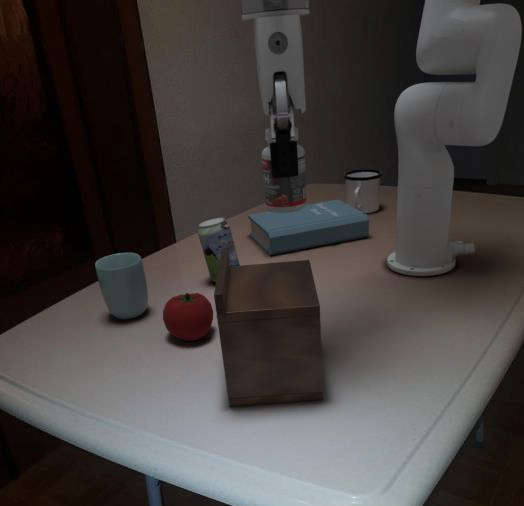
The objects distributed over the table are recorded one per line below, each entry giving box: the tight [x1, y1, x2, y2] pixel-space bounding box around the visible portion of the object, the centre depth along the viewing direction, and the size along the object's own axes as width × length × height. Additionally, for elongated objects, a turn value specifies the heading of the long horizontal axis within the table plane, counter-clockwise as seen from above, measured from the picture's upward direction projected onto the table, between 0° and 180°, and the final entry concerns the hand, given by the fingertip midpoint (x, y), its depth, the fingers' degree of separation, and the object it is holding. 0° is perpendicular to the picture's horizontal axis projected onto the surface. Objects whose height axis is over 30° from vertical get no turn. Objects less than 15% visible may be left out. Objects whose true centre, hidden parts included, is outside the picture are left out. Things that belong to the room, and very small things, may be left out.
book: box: [247, 199, 370, 256], centre depth 125 cm, size 23×16×5 cm
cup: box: [94, 252, 149, 320], centre depth 96 cm, size 8×8×10 cm
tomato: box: [162, 292, 214, 341], centre depth 87 cm, size 8×8×7 cm
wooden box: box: [213, 250, 324, 407], centre depth 73 cm, size 12×15×16 cm
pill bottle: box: [261, 125, 307, 213], centre depth 70 cm, size 5×5×10 cm
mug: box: [342, 168, 383, 215], centre depth 139 cm, size 12×10×9 cm
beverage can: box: [197, 217, 241, 283], centre depth 105 cm, size 6×7×12 cm
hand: (284, 169), depth 70 cm, fingers closed on pill bottle, 5 cm apart
